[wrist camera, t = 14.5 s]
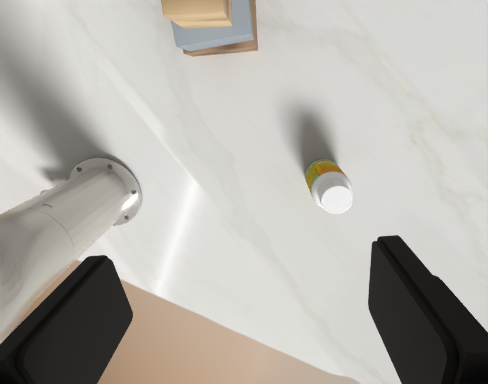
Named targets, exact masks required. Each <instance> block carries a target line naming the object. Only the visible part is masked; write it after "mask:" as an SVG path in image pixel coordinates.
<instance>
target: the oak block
mask: <svg viewBox="0 0 488 384" xmlns="http://www.w3.org/2000/svg"><path fill="white" fill-rule="evenodd" d="M161 3H162V11H163V16H165V17H166V18H168V19H170V20H171V21H173V22H174V23H176V24H178V25H179V26H181V27H182V28H184V29H187V28H205V27H224V26H233V23H232V0H161Z"/></svg>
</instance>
